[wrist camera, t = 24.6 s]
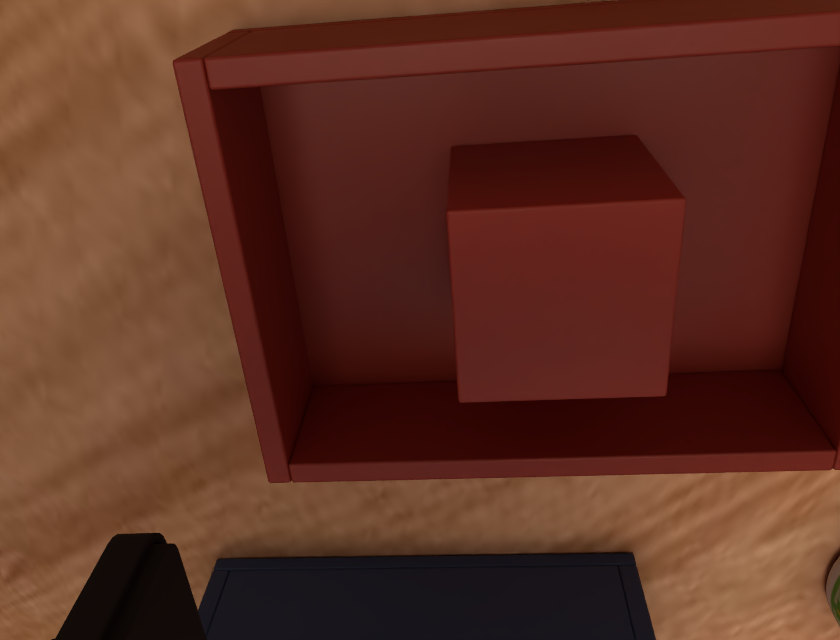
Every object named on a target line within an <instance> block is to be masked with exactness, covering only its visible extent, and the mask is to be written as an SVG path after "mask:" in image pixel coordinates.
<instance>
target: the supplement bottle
mask: <svg viewBox="0 0 840 640" xmlns="http://www.w3.org/2000/svg"><path fill="white" fill-rule="evenodd" d="M826 594H827V600H828V603H829V606H830V608H831V610H832V612H833V614H834V617H835V619H836V621H837V623H838V625H839V626H840V557H839V558H838V559H837V560H836V562H835V563H834V565H833V566H832V568H831V570H830V573H829V575H828V579H827V584H826Z"/></svg>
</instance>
